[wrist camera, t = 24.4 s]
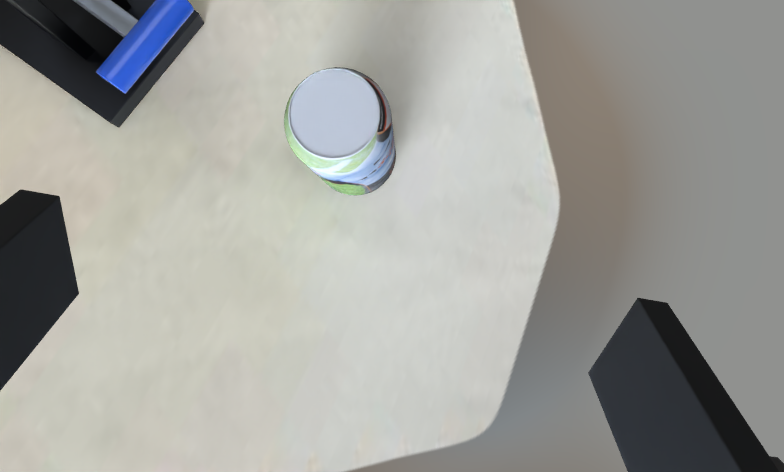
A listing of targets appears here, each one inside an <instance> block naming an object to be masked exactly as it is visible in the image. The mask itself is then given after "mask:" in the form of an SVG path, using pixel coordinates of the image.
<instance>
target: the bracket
mask: <svg viewBox="0 0 784 472" xmlns="http://www.w3.org/2000/svg"><path fill="white" fill-rule="evenodd" d="M111 1H113V2H114V3H115V4H117V5H118V6H119V7H121V8H122V9H124V10H125V11H126V12H128V13H129V14H130V15H132V16H133V17H134V18H136V19H137V20H139V19H140V18H141V17H142V15H143V14H144V13H145V12H146V11H147V9H148V8H149V7H150V6H151V5H152V3H153V2H154V1H155V0H111ZM203 24H204V22H203V20H202V18H201V16H200V15H199V13H198V12H196V11H195V10H194V11H193V13H192V14H191V15H190V16H189V17H188V19H187V20H186V21H185V22H184V23H183V25H182V26H181V27H180V28H179V30H178V31H177V32H176V33H175V34H174V36H173V37H172V38H171V39H170V41H169V42H168V43H167V44H166V45H165V47H164V48H163V49H162V50H161V51H160V53H159V54H158V55H157V56H156V58H155V59H154V60H153V61H152V62H151V64H150V65H149V66H148V67H147V69H146V70H145V71H144V72H143V73H142V75H141V76H140V77H139V78H138V79H137V81H136V82H135V83H134V84H133V86H132V87H131V88H130V89H129V90H128V92H127V93H126V94H125V93H123V92H122V91H120V90H119V89H117V88H116V87H115V86H113V85H112V84H110V83H109V82H108V81H106V80H105V79H104V78H102V77H101V76H100V75H98V74H97V73H96V71H97V69H98V68H99V67H100V66H101V65H102V63H103V62H104V61H105V60H106V59H107V57H108V56H109V55H110V54H111V53H112V51H113V50H114V49H115V48H116V47H117V45H118V44H119V43H120V42H121V41H122V39H123V38H124V37H122V36H121V35H120V34H118V33H117V32H116V31H114V30H113V29H111V28H110V27H109V26H107V25H106V24H105V23H103V22H102V21H100V20H99V19H98V18H96V17H95V16H94V15H92V14H91V13H90V12H88V11H87V10H85V9H84V8H83V7H81V6H80V5H79V4H77V3H76V2H74V1H73V0H0V44H1V45H2V46H4V47H5V48H6V49H8V50H9V51H11V52H12V53H13V54H15V55H16V56H18V57H19V58H20V59H22V60H23V61H25V62H26V63H27V64H29V65H30V66H32V67H33V68H34V69H36V70H37V71H39V72H40V73H41V74H43V75H44V76H46V77H47V78H49V79H50V80H51V81H53V82H54V83H56V84H57V85H58V86H60V87H61V88H63V89H64V90H65V91H67V92H68V93H70V94H71V95H72V96H74V97H75V98H77V99H78V100H79V101H81V102H82V103H84V104H85V105H86V106H88V107H89V108H91V109H92V110H93V111H95V112H96V113H98V114H99V115H100V116H102V117H103V118H105V119H106V120H107V121H109V122H110V123H112V124H114V125H115V126H117V127H120V126H121V124H122V123H123V122H124V121H125V119H126V118H127V117H128V116H129V115H130V113H131V112H132V111H133V110H134V108H135V107H136V106H137V105H138V104H139V102H140V101H141V100H142V99H143V97H144V96H145V95H146V94H147V92H148V91H149V90H150V89H151V88H152V86H153V85H154V84H155V83H156V81H157V80H158V79H159V78H160V77H161V75H162V74H163V73H164V72H165V70H166V69H167V68H168V67H169V66H170V64H171V63H172V62H173V61H174V59H175V58H176V57H177V56H178V54H179V53H180V52H181V51H182V50H183V48H184V47H185V46H186V45H187V43H188V42H189V41H190V40H191V39H192V37H193V36H194V35H195V34H196V32H197V31H198V30H199V29H200V28H201V26H202V25H203Z"/></svg>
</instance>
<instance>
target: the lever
mask: <svg viewBox="0 0 784 472" xmlns="http://www.w3.org/2000/svg"><path fill="white" fill-rule="evenodd" d="M73 1H74V2H76V3H77V4H79V5H80V6H81V7H83V8H84V9H85V10H87V11H88V12H90V13H91V14H92V15H94V16H95V17H96V18H98V19H99V20H100V21H102V22H103V23H105V24H106V25H107V26H109V27H110V28H111V29H113V30H114V31H116V32H117V33H118V34H120V35H121V36H122V37H124V38H123V39H122V41H121V42H120V43H119V44H118V45H117V47H116V48H115V49H114V50H113V51H112V53H111V54H110V55H109V56H108V57H107V59H106V60H105V61H104V62H103V63H102V65H101V66H100V67H99V68H98V69H97V71H96V73H97V74H98V75H100V76H101V77H102V78H104V79H105V80H106V81H108V82H109V83H110V84H112V85H113V86H115V87H116V88H117V89H119V90H120V91H122V92H123V93H125V94H126V93H127V92H128V90H129V89H130V88H131V87H132V86H133V84H134V83H135V82H136V81H137V79H138V78H139V77H140V76H141V75H142V73H143V72H144V71H145V70H146V69H147V67H148V66H149V65H150V64H151V62H152V61H153V60H154V59H155V58H156V56H157V55H158V54H159V53H160V51H161V50H162V49H163V48H164V47H165V45H166V44H167V43H168V42H169V41H170V39H171V38H172V37H173V36H174V34H175V33H176V32H177V31H178V30H179V28H180V27H181V26H182V25H183V23H184V22H185V21H186V20H187V19H188V17H189V16H190V15H191V14H192V13H193V11H194V8H193V7H192V5H191V4H190V3H189V1H188V0H155V1H154V2H153V3H152V5H151V6H150V7H149V8H148V9H147V11H146V12H145V13H144V14H143V15H142V17H141V18H140V19H139V20H137V19H136V18H134V17H133V16H132V15H130V14H129V13H128V12H126V11H125V10H124V9H122V8H121V7H119V6H118V5H117V4H115V3H114V2H113V1H111V0H73Z"/></svg>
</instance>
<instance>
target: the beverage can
mask: <svg viewBox="0 0 784 472" xmlns="http://www.w3.org/2000/svg"><path fill="white" fill-rule="evenodd" d="M284 126H285V133H286V137H287V140H288V142H289V144H290V146H291V148H292V150H293V152H294V153H295V154H296V156H297V157H298V158H299V159H300V160H301V161H302V162H303V163H304V164H306V165H307V166H308V167H309V168H310V169H311V170H312V171H313V172H314V173H316V174H317V175H318V176H319V177H320V178H321V179H322V180H323V181H324V182H326V183H327V184H328V185H329V186H330V187H331V188H333V189H335V190H336V191H338V192H341V193H344V194H348V195H362V194H366V193H370V192H372V191H374V190H376V189H377V188H379V187H380V186H381V185H383V184H384V182H385V181H386V180H387V179H388V178H389V176H390V175H391V173H392V170H393V168H394V164H395V159H396V151H395V143H394V134H393V126H392V117H391V110H390V106H389V103H388V100H387V98H386V96H385V94H384V92H383V91H382V90H381V88H380V87H379V86H378V85H377V84H376V83H375V82H374V81H373V80H372V79H371V78H369V77H368V76H366V75H365V74H363V73H361V72H358V71H356V70H353V69H348V68H337V67H335V68H328V69H324V70H320V71H317V72H315V73H313V74H311V75H310V76H308V77H307V78H306V79H304V80H303V81H302V82H301V83H300V84H299V85H298V86H297V87H296V88H295V90H294V91H293V93H292V94H291V96H290V98H289V101H288V103H287V106H286V110H285V117H284Z"/></svg>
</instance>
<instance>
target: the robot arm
mask: <svg viewBox="0 0 784 472" xmlns="http://www.w3.org/2000/svg"><path fill="white" fill-rule="evenodd" d="M78 294H79V292H78V287H77V282H76V277H75V272H74V267H73V262H72V257H71V252H70V247H69V242H68V237H67V232H66V227H65V222H64V217H63V212H62V207H61V202H60V197H59V196H55V195H49V194H44V193H38V192H32V191H27V190H19V191H18V192H17V193H15V194H14V195H13V196H11V197H10V198H9V199H8V200H6V201H5V202H4V203H2V204H1V205H0V390H1V389H2V388H3V387H4V385H5V384H6V383H7V382H8V381H9V379H10V378H11V377H12V376H13V374H14V373H15V372H16V371H17V369H18V368H19V367H20V366H21V364H22V363H23V362H24V361H25V360H26V358H27V357H28V356H29V355H30V353H31V352H32V351H33V350H34V348H35V347H36V346H37V345H38V343H39V342H40V341H41V340H42V338H43V337H44V336H45V335H46V334H47V332H48V331H49V330H50V329H51V327H52V326H53V325H54V324H55V322H56V321H57V320H58V319H59V317H60V316H61V315H62V314H63V313H64V311H65V310H66V309H67V308H68V306H69V305H70V304H71V303H72V301H73V300H74V299H75V298H76V296H77V295H78ZM589 376H590V378H591V381H592V383H593V386H594V388H595V391H596V393H597V396H598V398H599V401H600V403H601V406H602V408H603V411H604V413H605V416H606V418H607V421H608V423H609V426H610V428H611V431H612V433H613V436H614V438H615V441H616V443H617V446H618V448H619V451H620V453H621V456H622V458H623V461H624V463H625V466H626V468H627V471H628V472H784V463H783V462H782V461H781V460H780V459H779V458H778V457H770V456H769V455H768V454H767V452H766V451H765V449H764V448H763V446H762V445H761V443H760V442H759V440H758V439H757V437H756V436H755V434H754V433H753V431H752V430H751V428H750V427H749V425H748V424H747V422H746V421H745V419H744V418H743V416H742V415H741V413H740V412H739V410H738V409H737V407H736V406H735V404H734V403H733V401H732V400H731V398H730V397H729V395H728V394H727V392H726V391H725V389H724V388H723V386H722V385H721V383H720V382H719V380H718V379H717V377H716V376H715V374H714V373H713V371H712V370H711V368H710V367H709V365H708V364H707V362H706V360H705V359H704V358H703V356H702V355H701V353H700V351H699V350H698V348H697V347H696V346H695V344H694V342H693V341H692V339H691V338H690V337H689V335H688V334H687V332H686V330H685V329H684V327H683V326H682V324H681V323H680V321H679V320H678V318H677V317H676V315H675V314H674V312H673V311H672V309H671V308H670V306H669V305H668V303H665V302H659V301H653V300H647V299H641V298H637V300H636V301H635V303H634V304H633V306H632V308H631V309H630V311H629V312H628V314H627V315H626V317H625V318H624V320H623V321H622V323H621V324H620V326H619V327H618V329H617V330H616V332H615V333H614V335H613V336H612V338H611V339H610V341H609V342H608V344H607V345H606V347H605V348H604V350H603V352H602V353H601V354H600V356H599V358H598V359H597V360H596V362H595V364H594V365H593V367H592V368H591V370H590V371H589Z"/></svg>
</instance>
